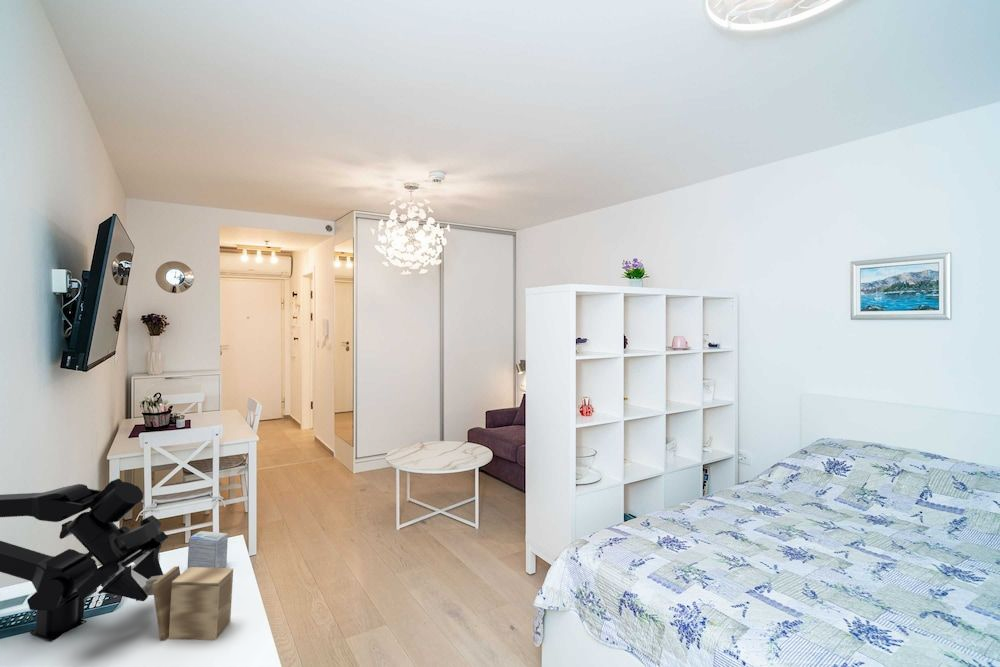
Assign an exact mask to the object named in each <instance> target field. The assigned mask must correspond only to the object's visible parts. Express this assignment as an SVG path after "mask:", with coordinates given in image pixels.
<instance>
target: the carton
mask: <svg viewBox="0 0 1000 667" xmlns="http://www.w3.org/2000/svg"><path fill="white" fill-rule="evenodd" d="M187 568H188V567H187ZM233 578H234V568H230V567H223V568H204V567H189V568H188V569H185V570H184V571H183V572H182V573H180V575H179V576H178V577H177V578H176V579H175V580H173V581H172V589H171V607H170V625H169V637H168V640H187V641H189V640H191V641H216V640H217V639H218V638H219V636H220V635H221V634H222V633H223V632H224V631H225V629H226V628H227V627H228V626H229V624H231V618H232V617H231V615H232V599H233V595H232V594H233V580H234V579H233Z"/></svg>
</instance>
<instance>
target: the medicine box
mask: <svg viewBox="0 0 1000 667" xmlns="http://www.w3.org/2000/svg"><path fill="white" fill-rule="evenodd" d="M228 536H229V534H228V533H225V532H216V531H207V530H205V531H204V530H200V531H198V532H196V533H195V534H193V535H191V536H190V537H188V548H187V549H188V550H187V551H188V552H187V569H188V568H189V567H204V568H225V567H226V566H227V564H228V560H227V559H228V540H229V538H228ZM225 565H226V566H225ZM224 566H225V567H224ZM187 569H186V570H187Z"/></svg>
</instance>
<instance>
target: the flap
mask: <svg viewBox="0 0 1000 667" xmlns="http://www.w3.org/2000/svg"><path fill="white" fill-rule="evenodd" d="M179 575H181V568H180V565H177V566H173V567H172V568H171V569H170V570H169V571H167V572H165V574H164V573H163V575H159V576H153V577H151V578H149V579H148V580H147V581H146V585H145V586H144V587H143V588H142V589H143V590H144V591H145V593H146V594H147V596H148V597H149V596H153V601H154V606H155V612H156V620H157V627H158V634H159V640H160V641H166V640H167V639H169V625H170V607H171V589H172V581H173V580H175V579H176V578H177V577H178V576H179ZM135 602H140V601H139V600H135Z"/></svg>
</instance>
